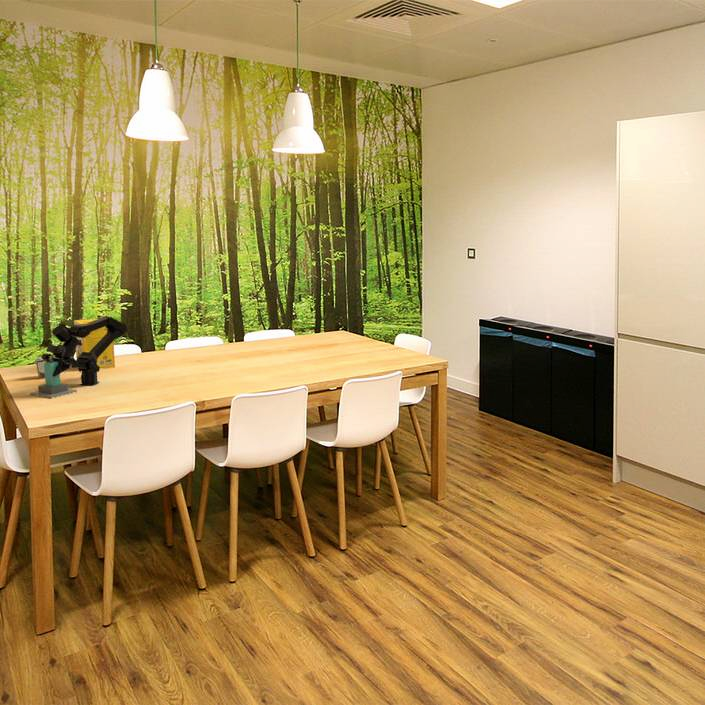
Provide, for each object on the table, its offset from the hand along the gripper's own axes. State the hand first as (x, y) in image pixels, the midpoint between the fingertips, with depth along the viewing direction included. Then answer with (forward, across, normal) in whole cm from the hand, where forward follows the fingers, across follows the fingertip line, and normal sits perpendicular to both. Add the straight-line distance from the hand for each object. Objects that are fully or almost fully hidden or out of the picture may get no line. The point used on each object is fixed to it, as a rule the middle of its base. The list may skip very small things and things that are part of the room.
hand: (49, 375), depth 312 cm
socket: (+5, 0, +7) cm, 9 cm away
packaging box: (-32, -31, +44) cm, 63 cm away
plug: (+4, 0, +6) cm, 7 cm away
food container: (-10, -32, +23) cm, 41 cm away
